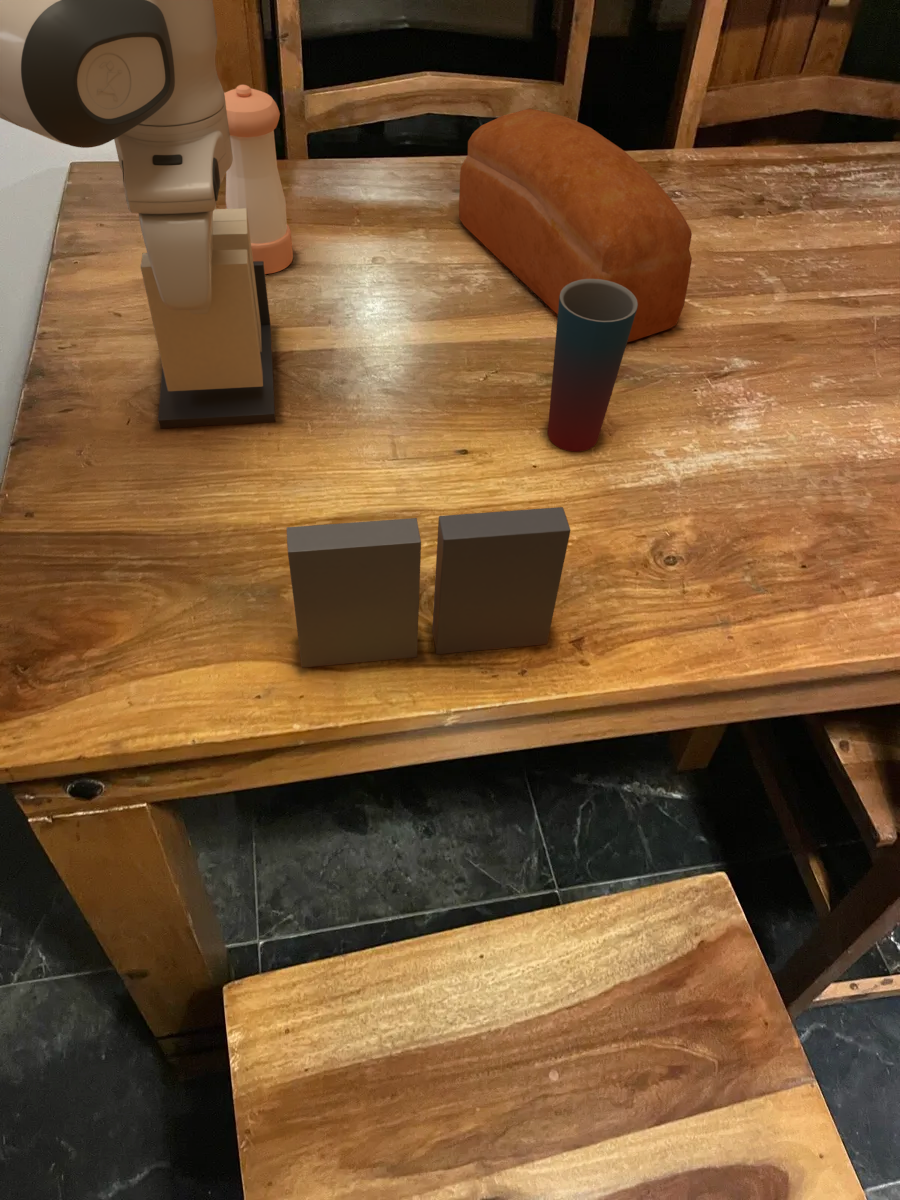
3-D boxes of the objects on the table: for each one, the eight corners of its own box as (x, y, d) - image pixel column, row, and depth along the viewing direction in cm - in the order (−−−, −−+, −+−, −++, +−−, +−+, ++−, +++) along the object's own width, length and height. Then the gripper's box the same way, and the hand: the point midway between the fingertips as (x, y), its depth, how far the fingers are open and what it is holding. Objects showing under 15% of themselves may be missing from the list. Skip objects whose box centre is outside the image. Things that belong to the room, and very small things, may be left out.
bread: (538, 197, 124) (553, 71, 112) (691, 325, 106) (728, 190, 94) (446, 217, 119) (453, 88, 107) (590, 355, 101) (616, 217, 89)
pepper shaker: (230, 275, 108) (206, 100, 93) (230, 243, 113) (207, 72, 98) (294, 273, 109) (279, 100, 94) (291, 241, 114) (277, 71, 99)
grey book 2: (436, 654, 74) (443, 539, 64) (432, 631, 75) (438, 515, 65) (547, 644, 75) (571, 530, 65) (540, 621, 76) (563, 506, 67)
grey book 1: (301, 667, 72) (287, 552, 62) (300, 643, 74) (286, 526, 64) (417, 657, 73) (421, 542, 64) (413, 633, 75) (416, 517, 65)
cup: (541, 409, 95) (561, 274, 83) (608, 418, 94) (638, 283, 83) (535, 453, 90) (557, 316, 79) (606, 462, 90) (637, 326, 78)
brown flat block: (167, 391, 89) (140, 266, 80) (169, 376, 91) (142, 252, 81) (263, 386, 91) (247, 263, 81) (262, 372, 92) (247, 248, 82)
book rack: (159, 428, 90) (129, 298, 79) (167, 333, 100) (140, 206, 89) (275, 421, 91) (260, 293, 81) (271, 328, 101) (257, 203, 91)
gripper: (140, 87, 80) (169, 240, 90) (122, 203, 67) (158, 366, 77) (215, 87, 80) (235, 238, 91) (212, 201, 67) (236, 362, 78)
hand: (200, 298), depth 84 cm, fingers closed on brown flat block, 2 cm apart
